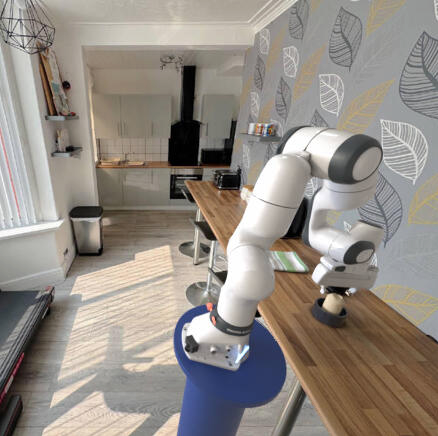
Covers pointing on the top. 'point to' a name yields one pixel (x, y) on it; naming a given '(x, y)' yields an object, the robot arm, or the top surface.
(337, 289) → the end cap
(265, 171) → the robot arm
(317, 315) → the holder
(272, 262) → the dish towel
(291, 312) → the top surface
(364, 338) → the top surface
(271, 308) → the top surface
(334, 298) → the candle
